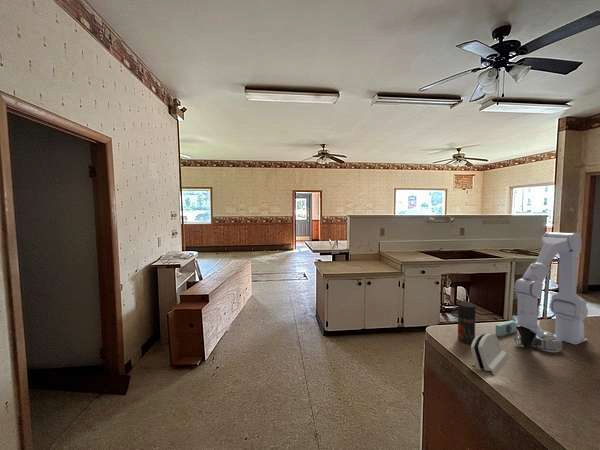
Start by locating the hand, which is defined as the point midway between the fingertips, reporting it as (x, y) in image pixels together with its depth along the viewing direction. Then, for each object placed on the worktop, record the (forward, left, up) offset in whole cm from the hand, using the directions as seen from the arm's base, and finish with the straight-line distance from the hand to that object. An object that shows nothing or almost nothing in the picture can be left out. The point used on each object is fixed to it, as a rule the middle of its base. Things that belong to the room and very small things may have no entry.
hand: (526, 346), depth 102 cm
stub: (-8, +2, -1) cm, 8 cm away
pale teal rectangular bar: (-8, -12, -1) cm, 14 cm away
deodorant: (+14, -14, -1) cm, 20 cm away
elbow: (-5, 0, 0) cm, 5 cm away
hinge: (+21, -1, -1) cm, 21 cm away
